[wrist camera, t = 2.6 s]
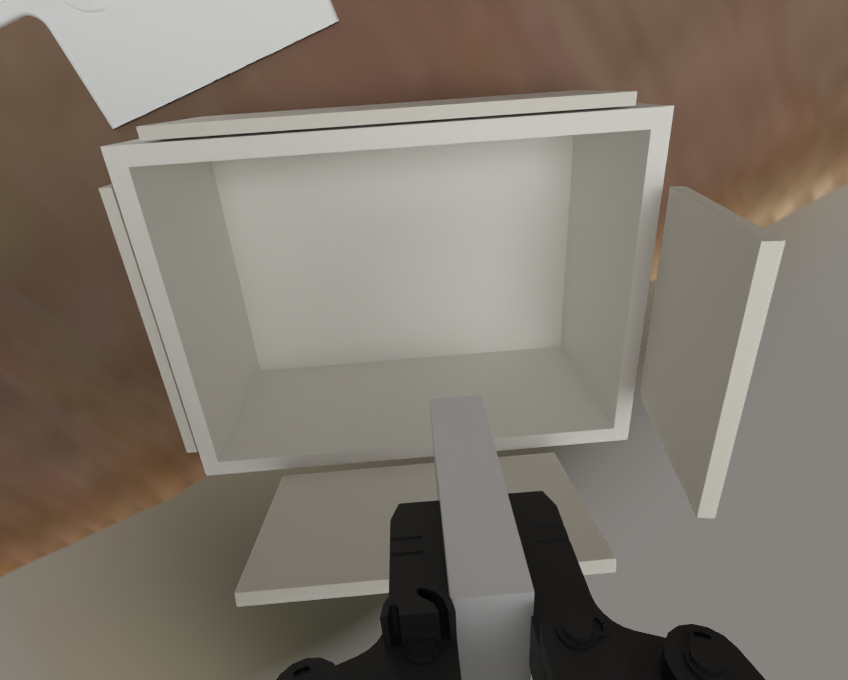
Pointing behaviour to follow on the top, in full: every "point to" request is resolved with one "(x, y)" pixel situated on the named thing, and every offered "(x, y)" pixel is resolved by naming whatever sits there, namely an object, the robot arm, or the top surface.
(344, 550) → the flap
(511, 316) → the carton
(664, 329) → the end flap
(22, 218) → the top surface
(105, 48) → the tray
